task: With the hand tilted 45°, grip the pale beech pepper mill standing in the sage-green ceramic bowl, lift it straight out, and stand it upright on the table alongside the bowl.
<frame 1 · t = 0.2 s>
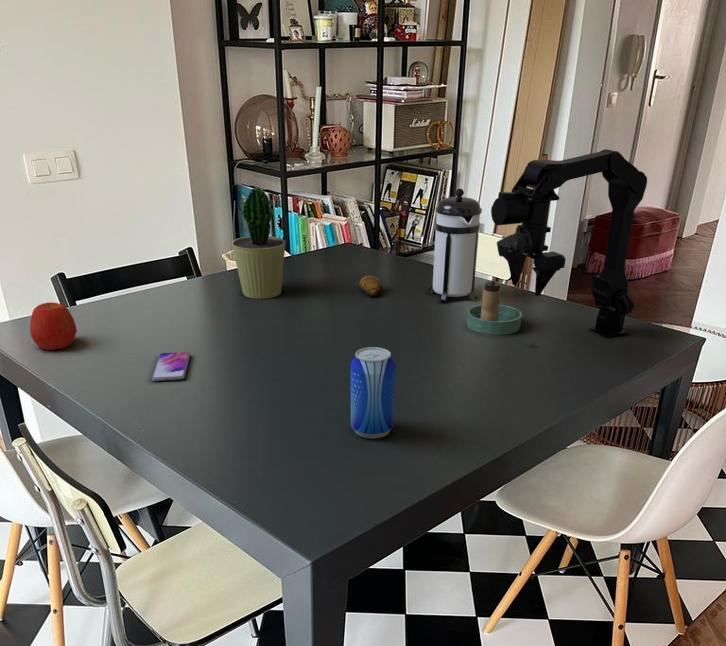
hand: (525, 290, 173), 15 cm above the table, tool pointing down, fingers open, 9 cm apart
smartphone: (171, 368, 170), on the table
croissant: (369, 292, 220), on the table
coffee press: (449, 295, 217), on the table
beer can: (372, 431, 144), on the table
potted cactus: (261, 293, 218), on the table
apple: (57, 345, 182), on the table
bowl: (493, 327, 194), on the table
pepper mill: (488, 325, 194), resting on bowl
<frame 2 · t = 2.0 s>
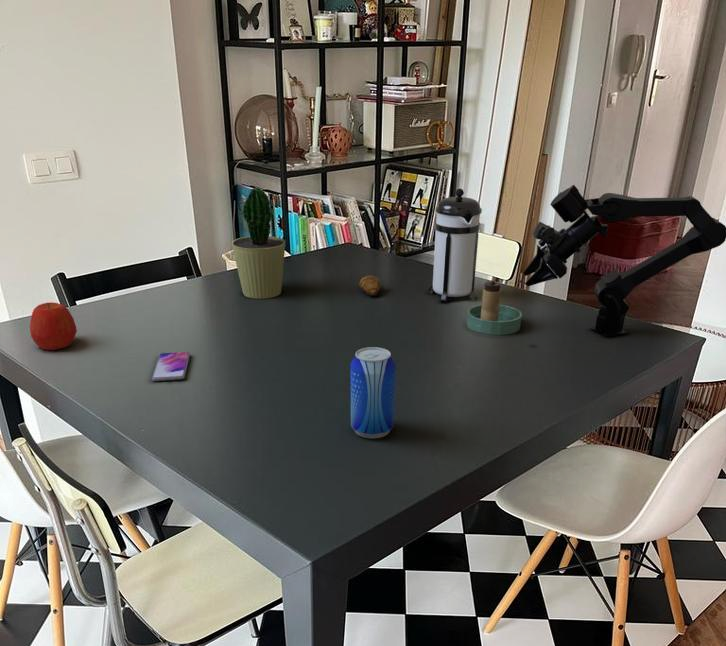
hand: (525, 279, 186), 13 cm above the table, tool tilted 45°, fingers open, 9 cm apart
nothing on the table moved.
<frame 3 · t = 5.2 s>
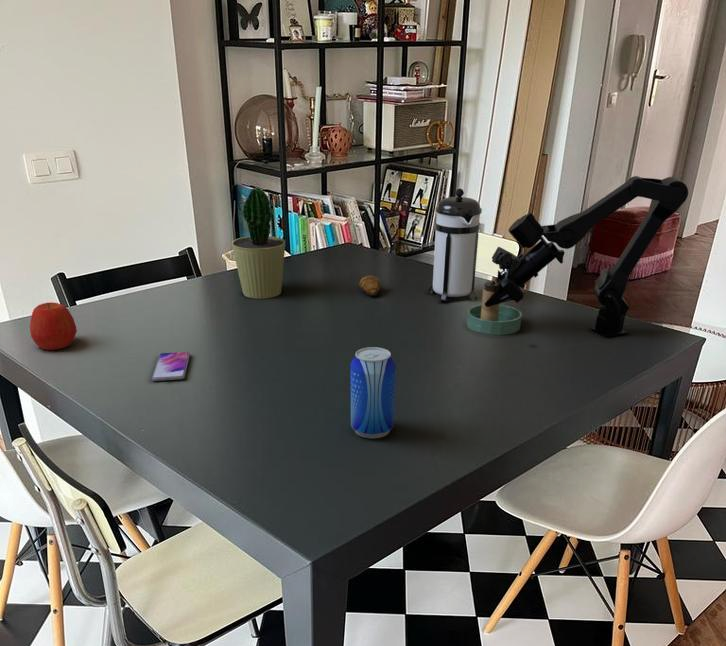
hand: (485, 302, 191), 7 cm above the table, tool tilted 45°, fingers closed on pepper mill, 4 cm apart
pepper mill: (488, 325, 194), point 1 cm above the table, touching bowl, gripper
everything else where it was.
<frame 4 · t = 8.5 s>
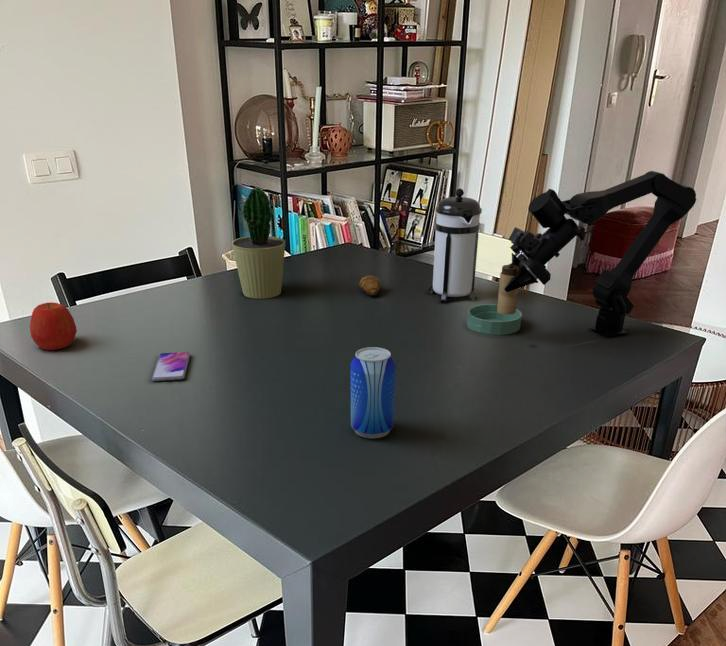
hand: (503, 287, 179), 13 cm above the table, tool tilted 45°, fingers closed on pepper mill, 4 cm apart
pepper mill: (506, 311, 182), point 7 cm above the table, touching gripper
everything else where it was.
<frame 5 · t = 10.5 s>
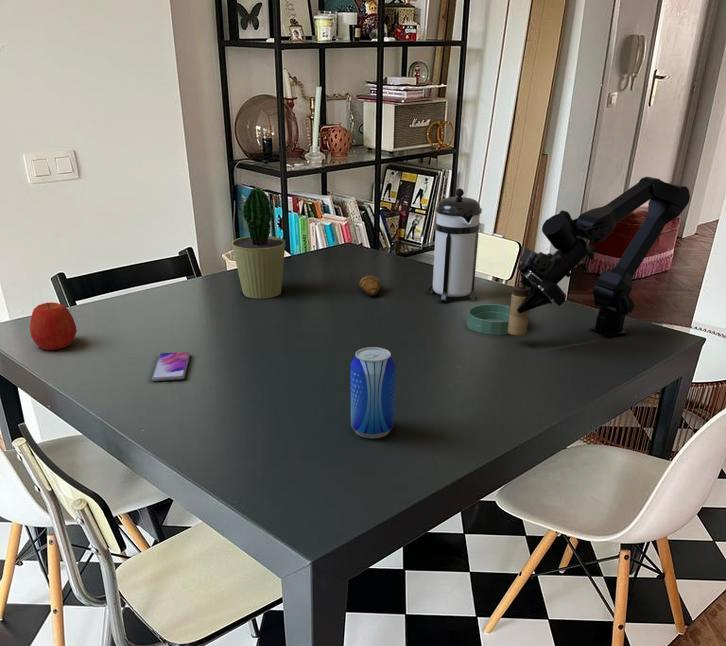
hand: (514, 308, 177), 10 cm above the table, tool tilted 45°, fingers closed on pepper mill, 4 cm apart
pepper mill: (517, 332, 181), point 4 cm above the table, touching gripper
everything else where it was.
when the fingers open (6 cm above the table, at t = 11.9 s): pepper mill stays where it is, on the table.
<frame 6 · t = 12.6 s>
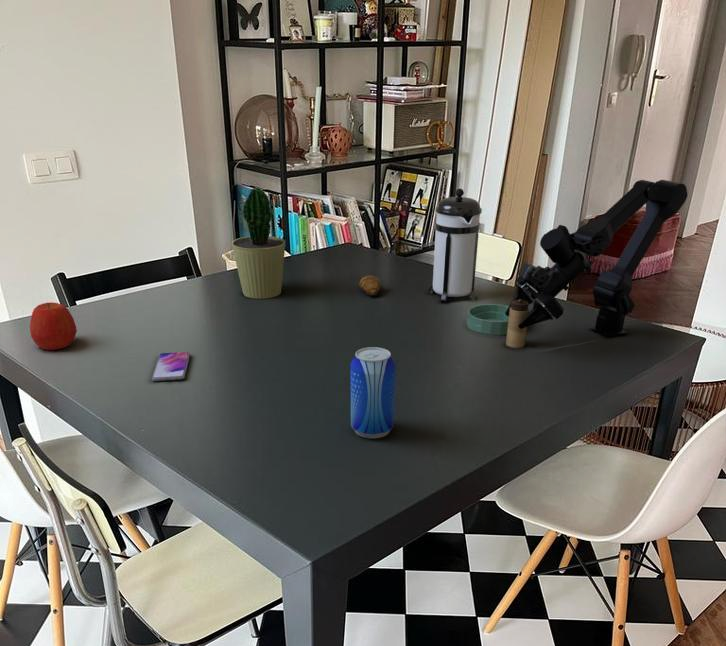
hand: (512, 321, 179), 6 cm above the table, tool tilted 45°, fingers open, 9 cm apart
pepper mill: (515, 345, 183), on the table
everything else where it was.
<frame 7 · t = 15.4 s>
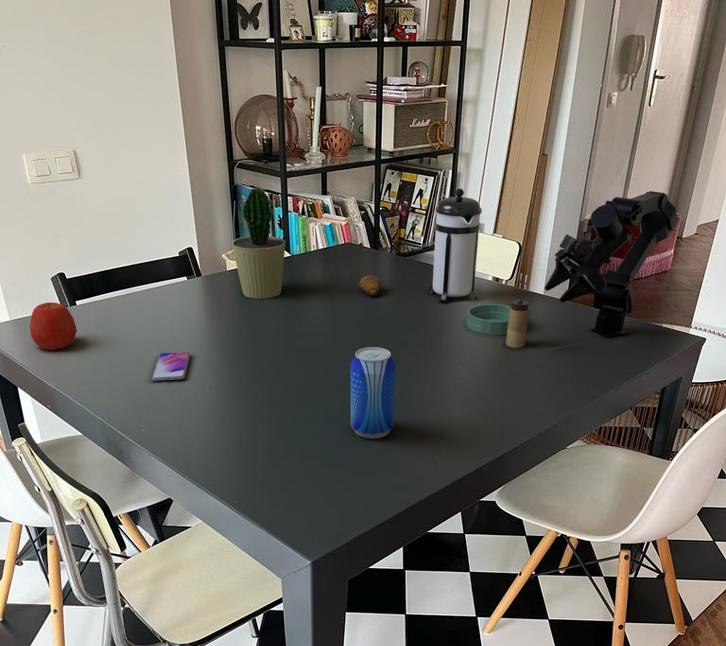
hand: (552, 295, 177), 12 cm above the table, tool tilted 45°, fingers open, 9 cm apart
nothing on the table moved.
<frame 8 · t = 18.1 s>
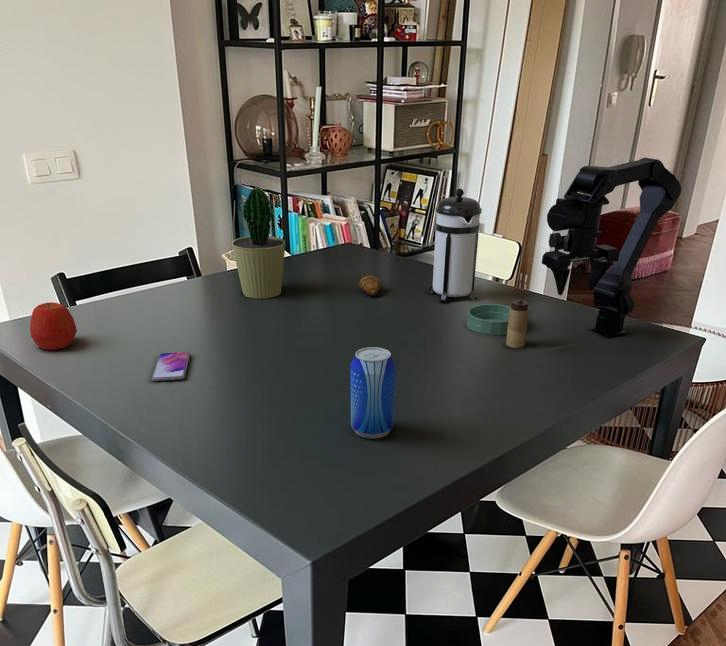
hand: (575, 292, 177), 13 cm above the table, tool pointing down, fingers open, 9 cm apart
nothing on the table moved.
at the end: pepper mill inside the target area (0.4 cm from its centre), on the table; pepper mill tilted 0°; the gripper is holding nothing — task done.
